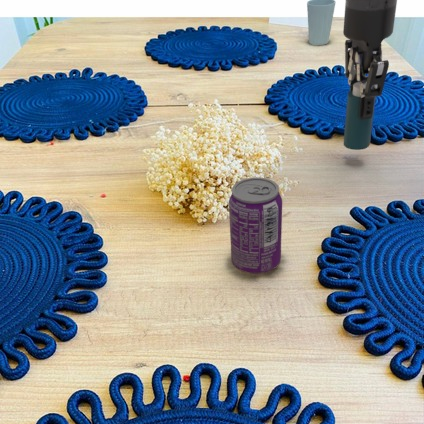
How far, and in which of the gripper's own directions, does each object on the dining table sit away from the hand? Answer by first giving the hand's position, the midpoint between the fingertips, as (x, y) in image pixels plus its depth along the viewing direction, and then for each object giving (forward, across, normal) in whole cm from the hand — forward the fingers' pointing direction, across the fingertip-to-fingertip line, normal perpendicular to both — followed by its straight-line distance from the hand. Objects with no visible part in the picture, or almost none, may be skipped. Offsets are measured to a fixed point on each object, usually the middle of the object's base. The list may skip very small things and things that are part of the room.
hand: (359, 112), depth 91 cm
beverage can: (+9, -26, +23) cm, 36 cm away
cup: (+10, +72, -14) cm, 74 cm away
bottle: (+6, 0, 0) cm, 6 cm away
